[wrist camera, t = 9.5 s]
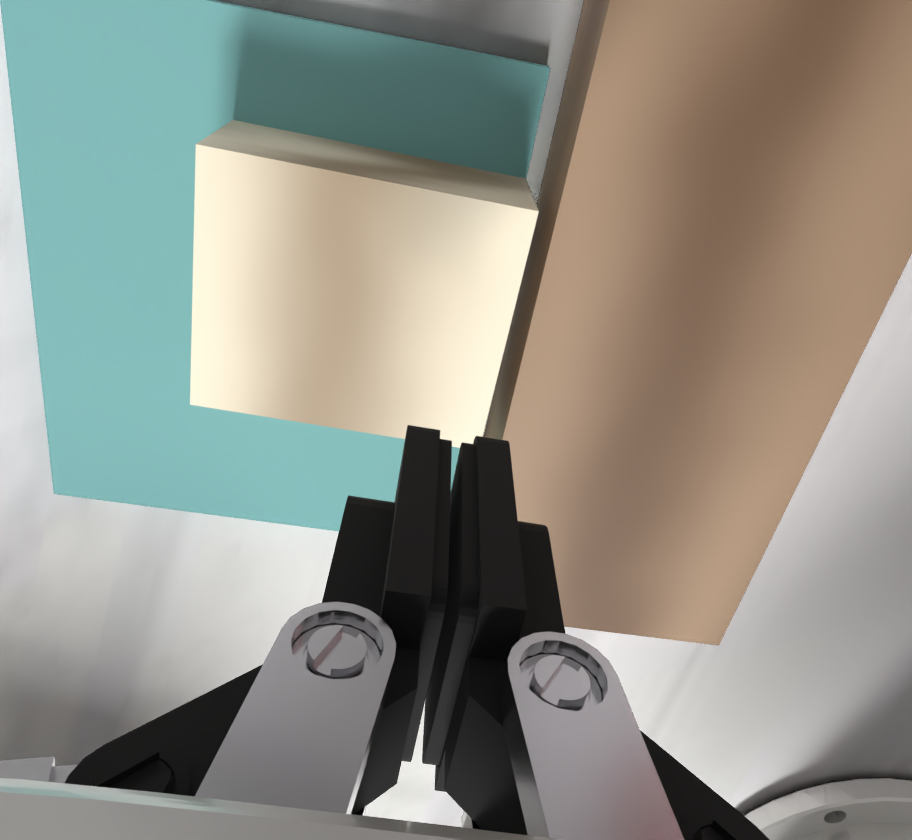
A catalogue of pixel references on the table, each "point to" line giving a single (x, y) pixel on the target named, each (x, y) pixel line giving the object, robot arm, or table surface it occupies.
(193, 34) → the teal mat
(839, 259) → the board
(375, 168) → the birch tile
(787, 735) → the table surface
